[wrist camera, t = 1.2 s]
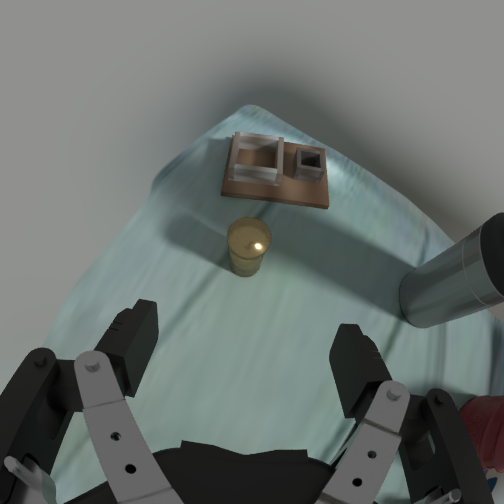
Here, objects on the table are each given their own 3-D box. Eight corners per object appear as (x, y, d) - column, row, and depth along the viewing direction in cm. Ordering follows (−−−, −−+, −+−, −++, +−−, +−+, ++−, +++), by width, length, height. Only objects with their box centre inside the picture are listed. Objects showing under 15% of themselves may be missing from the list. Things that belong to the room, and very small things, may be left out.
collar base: (323, 152, 46) (329, 137, 42) (327, 209, 41) (335, 194, 37) (232, 139, 45) (232, 122, 41) (221, 195, 40) (221, 179, 37)
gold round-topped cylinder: (263, 248, 38) (272, 219, 30) (260, 281, 36) (269, 259, 28) (229, 244, 37) (230, 214, 30) (225, 277, 36) (224, 254, 28)
